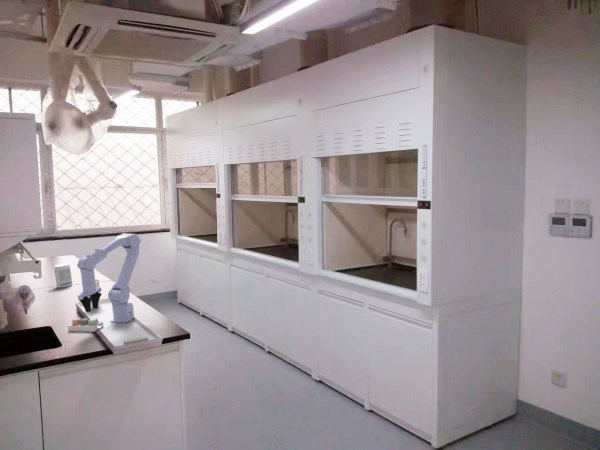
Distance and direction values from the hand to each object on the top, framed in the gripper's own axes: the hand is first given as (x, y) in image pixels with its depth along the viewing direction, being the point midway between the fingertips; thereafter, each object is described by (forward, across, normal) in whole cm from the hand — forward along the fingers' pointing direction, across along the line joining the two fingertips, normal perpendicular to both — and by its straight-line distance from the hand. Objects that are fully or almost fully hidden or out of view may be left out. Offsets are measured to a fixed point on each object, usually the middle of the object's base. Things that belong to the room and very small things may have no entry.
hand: (91, 310), depth 227 cm
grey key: (+7, 0, -5) cm, 8 cm away
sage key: (+7, 0, 0) cm, 7 cm away
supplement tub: (+10, -79, -82) cm, 114 cm away
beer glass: (+10, -34, -24) cm, 43 cm away
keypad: (+9, 0, -4) cm, 10 cm away
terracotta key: (+7, 0, -9) cm, 11 cm away
